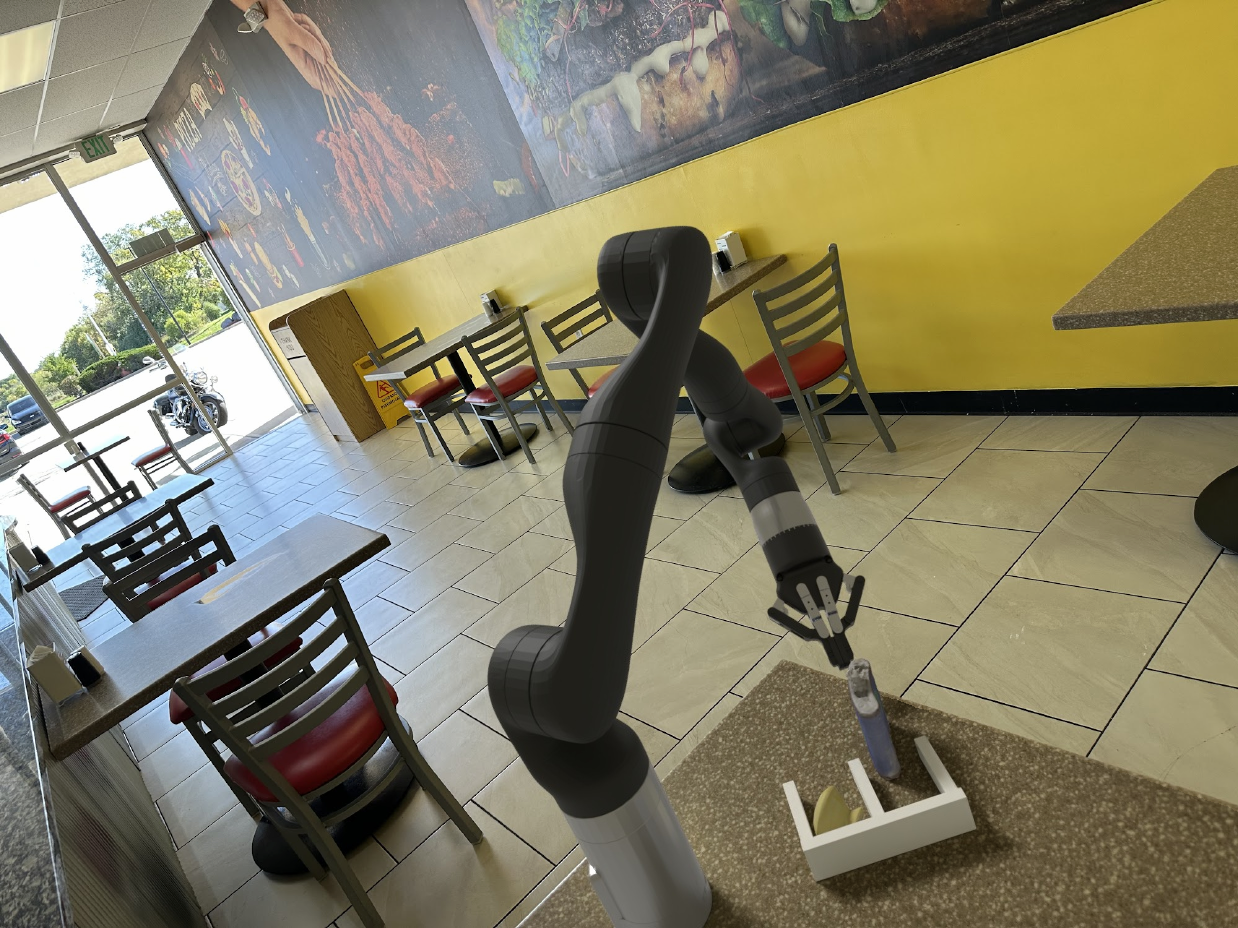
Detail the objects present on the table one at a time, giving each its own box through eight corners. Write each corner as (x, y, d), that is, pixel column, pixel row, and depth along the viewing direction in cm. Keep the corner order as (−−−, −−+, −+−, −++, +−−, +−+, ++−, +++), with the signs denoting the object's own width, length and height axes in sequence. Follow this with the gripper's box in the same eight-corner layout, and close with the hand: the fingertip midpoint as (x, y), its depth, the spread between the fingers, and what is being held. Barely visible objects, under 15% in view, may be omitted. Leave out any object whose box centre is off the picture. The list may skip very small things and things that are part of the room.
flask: (904, 778, 81) (876, 697, 78) (875, 783, 82) (846, 703, 78) (888, 717, 90) (863, 641, 86) (863, 722, 90) (836, 647, 87)
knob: (813, 849, 78) (798, 812, 76) (830, 807, 81) (816, 771, 80) (860, 859, 75) (845, 821, 73) (875, 816, 78) (861, 778, 77)
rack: (815, 881, 74) (803, 851, 73) (789, 801, 84) (778, 773, 83) (976, 828, 73) (966, 796, 72) (930, 753, 83) (921, 723, 81)
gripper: (736, 545, 97) (791, 682, 89) (839, 507, 96) (903, 642, 88) (742, 562, 104) (793, 691, 96) (838, 526, 103) (897, 654, 95)
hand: (846, 667), depth 92 cm, fingers closed
